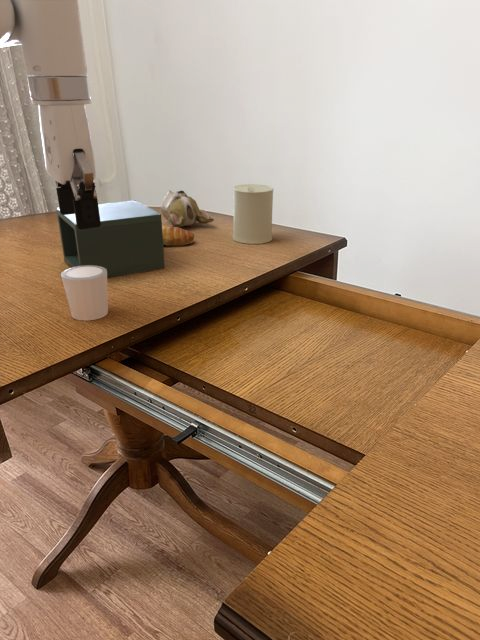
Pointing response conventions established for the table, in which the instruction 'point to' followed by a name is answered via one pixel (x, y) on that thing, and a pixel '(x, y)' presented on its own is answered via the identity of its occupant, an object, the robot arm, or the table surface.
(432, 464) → the table surface
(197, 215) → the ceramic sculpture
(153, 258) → the box
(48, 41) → the robot arm
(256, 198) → the can
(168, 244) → the pastry
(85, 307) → the white cup
